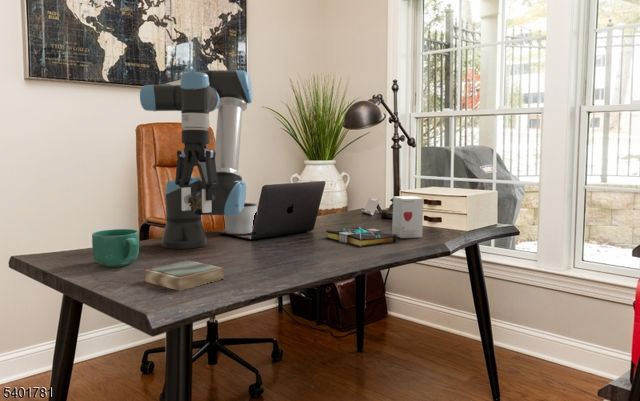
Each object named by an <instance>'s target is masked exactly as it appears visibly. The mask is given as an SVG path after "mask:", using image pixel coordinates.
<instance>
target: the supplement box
mask: <svg viewBox="0 0 640 401" xmlns="http://www.w3.org/2000/svg"><path fill="white" fill-rule="evenodd" d="M392 198H393V199H392V223H391V224H392V228H391V234H397V238H400V239H413V238H415V239H416V238H423V222H424V221H423V220H424V217H423V216H424V198H422V197H419V196H416V195H415V196H414V195H411V196H409V195H408V196H407V195H405V196H403V195H401V196H393V197H392Z"/></svg>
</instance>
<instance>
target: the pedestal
mask: <svg viewBox="0 0 640 401" xmlns="http://www.w3.org/2000/svg"><path fill="white" fill-rule="evenodd" d="M224 272H225V269H224V267H221V266H216V265H211V264H207V263H202V262H198V261H192V260H185V261H180V262H175V263H171V264H167V265H162V266H157V267H156V266H155V267H153V268H146V269H144V282H146V283H148V284H149V283H150V284H153V285H156V286H160V287H163V288H168V289H171V290H174V289H175V290H174V291H179V292H182V291H185V289H186V290H188V289H189V290H190V289H192V288H197V287H199V286H200V285H201V286H204V285H208V284H210V282H212V283H215V282H214V281H216V282H219V281H222V280H221V279H223V280H224V279H225V278H224V277H225V275H224V274H225V273H224ZM218 280H219V281H218ZM207 283H208V284H207ZM203 284H204V285H203ZM196 286H197V287H196ZM181 290H182V291H181Z"/></svg>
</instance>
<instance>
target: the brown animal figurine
mask: <svg viewBox="0 0 640 401" xmlns="http://www.w3.org/2000/svg"><path fill="white" fill-rule="evenodd" d="M215 197H216V194H215V192H214V191H213V190H212V198H213V199H212V200H214V199H215ZM184 202H185V203H186V204H189V203H191V204H189V206H192V207H193V213H194V212H195V211H196V210H197V209H199V210H200V209H201V210H202V190H201V191H198V192H197V194H196V196H195V198H194V197H193V196H192V195H191V194H189V195H187V196H185V197H184Z"/></svg>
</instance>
